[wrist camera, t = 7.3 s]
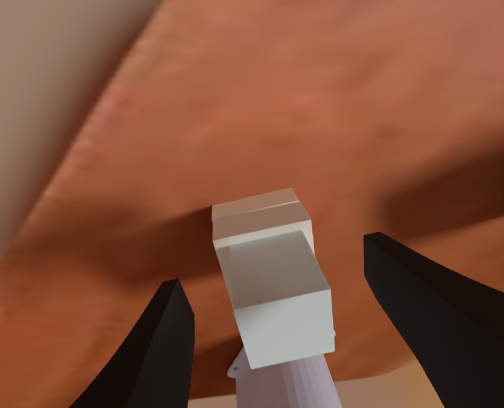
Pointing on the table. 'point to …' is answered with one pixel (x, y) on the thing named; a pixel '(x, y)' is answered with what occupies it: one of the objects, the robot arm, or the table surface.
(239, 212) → the cream slab
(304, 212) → the beige block
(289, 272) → the pale blue block
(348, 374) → the table surface
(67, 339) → the table surface
